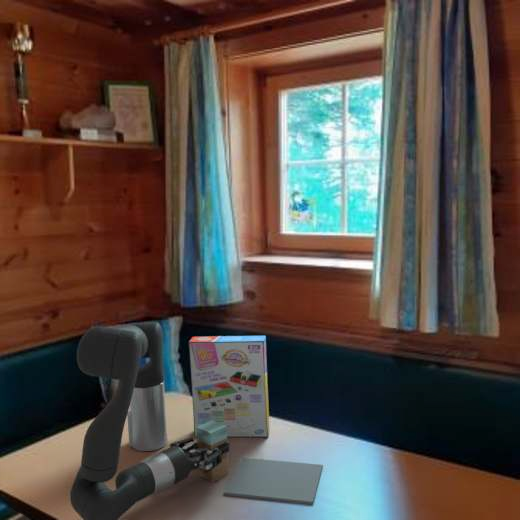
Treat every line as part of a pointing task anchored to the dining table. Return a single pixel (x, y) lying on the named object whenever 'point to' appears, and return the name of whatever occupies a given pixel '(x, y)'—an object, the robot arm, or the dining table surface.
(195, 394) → the game box
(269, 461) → the rubber mat
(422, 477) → the dining table surface
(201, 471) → the brown and blue block
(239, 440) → the dining table surface
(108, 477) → the robot arm
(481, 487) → the dining table surface
